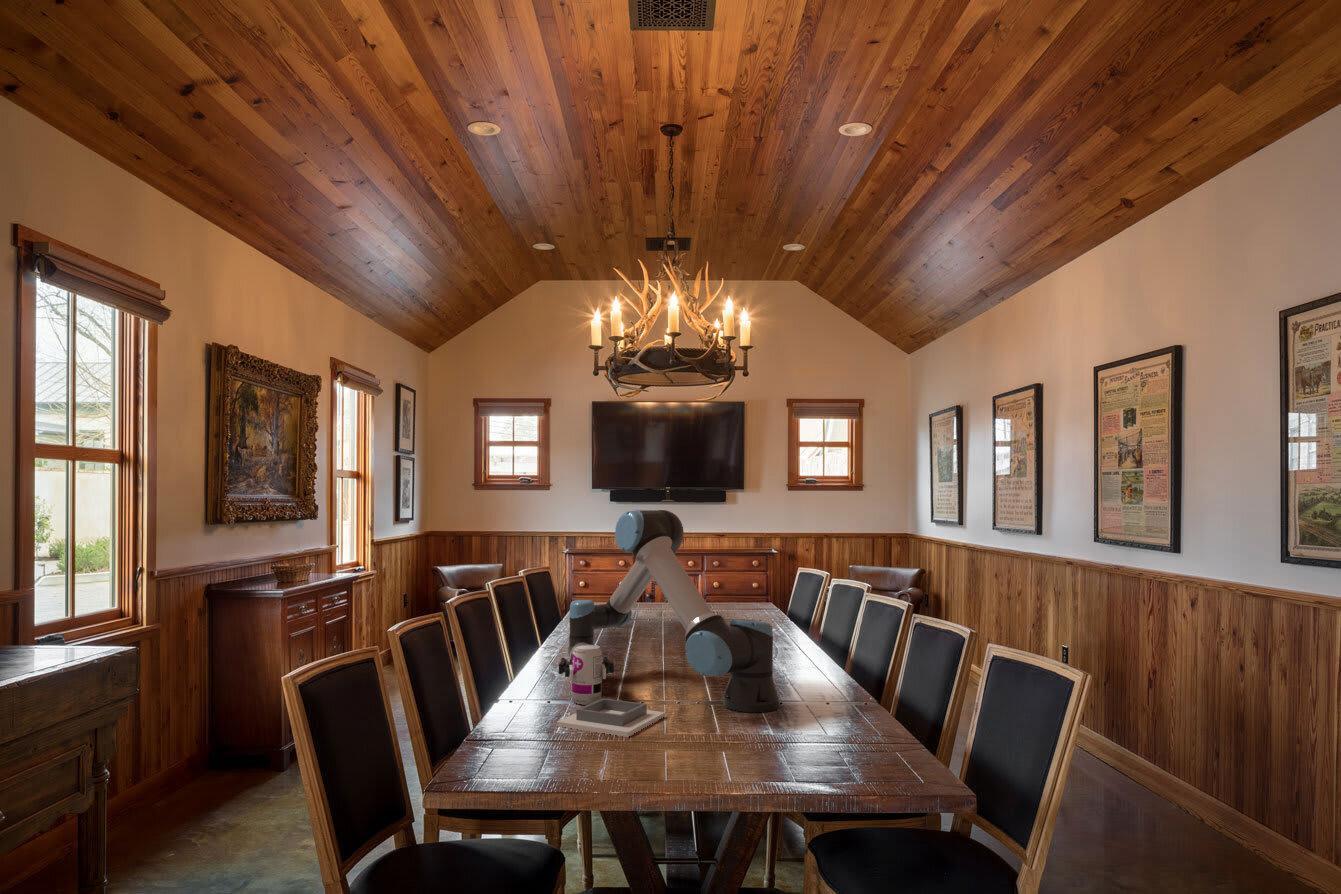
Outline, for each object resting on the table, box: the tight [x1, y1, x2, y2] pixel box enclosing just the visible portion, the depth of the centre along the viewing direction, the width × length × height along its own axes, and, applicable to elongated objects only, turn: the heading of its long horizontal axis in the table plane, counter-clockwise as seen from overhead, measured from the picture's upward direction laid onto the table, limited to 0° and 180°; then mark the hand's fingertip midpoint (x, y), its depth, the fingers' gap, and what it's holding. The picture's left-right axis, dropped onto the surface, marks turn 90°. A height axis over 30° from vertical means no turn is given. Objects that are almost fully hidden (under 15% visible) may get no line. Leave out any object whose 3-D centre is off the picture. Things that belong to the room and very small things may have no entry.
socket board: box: [556, 697, 666, 738], centre depth 209 cm, size 20×20×4 cm
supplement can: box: [571, 644, 603, 706], centre depth 229 cm, size 8×8×15 cm
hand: (588, 674), depth 224 cm, fingers closed on supplement can, 8 cm apart
